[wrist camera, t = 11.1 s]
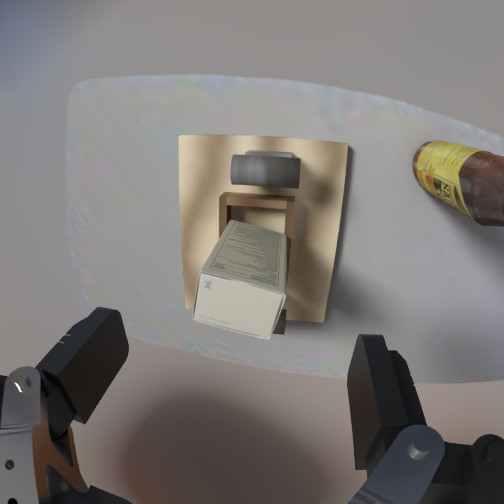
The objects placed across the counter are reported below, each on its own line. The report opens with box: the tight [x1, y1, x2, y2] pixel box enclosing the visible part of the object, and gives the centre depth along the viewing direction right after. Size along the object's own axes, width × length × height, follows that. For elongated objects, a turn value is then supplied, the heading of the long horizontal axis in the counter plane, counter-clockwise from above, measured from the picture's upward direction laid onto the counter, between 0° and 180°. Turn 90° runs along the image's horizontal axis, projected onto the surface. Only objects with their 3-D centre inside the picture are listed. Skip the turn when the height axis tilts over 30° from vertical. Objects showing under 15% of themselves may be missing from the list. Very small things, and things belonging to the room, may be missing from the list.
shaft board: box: [179, 135, 348, 334], centre depth 32 cm, size 18×22×7 cm
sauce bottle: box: [413, 141, 504, 226], centre depth 21 cm, size 6×6×20 cm
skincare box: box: [192, 220, 287, 340], centre depth 27 cm, size 6×4×12 cm
